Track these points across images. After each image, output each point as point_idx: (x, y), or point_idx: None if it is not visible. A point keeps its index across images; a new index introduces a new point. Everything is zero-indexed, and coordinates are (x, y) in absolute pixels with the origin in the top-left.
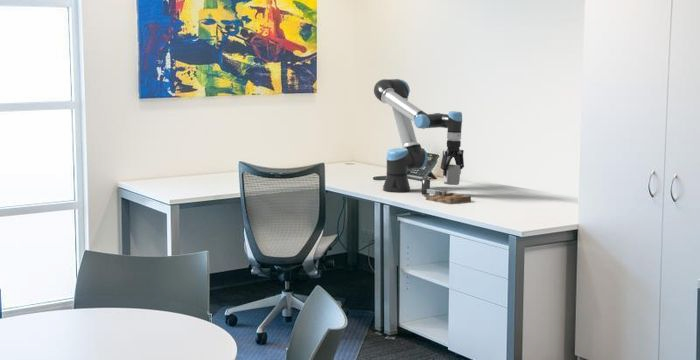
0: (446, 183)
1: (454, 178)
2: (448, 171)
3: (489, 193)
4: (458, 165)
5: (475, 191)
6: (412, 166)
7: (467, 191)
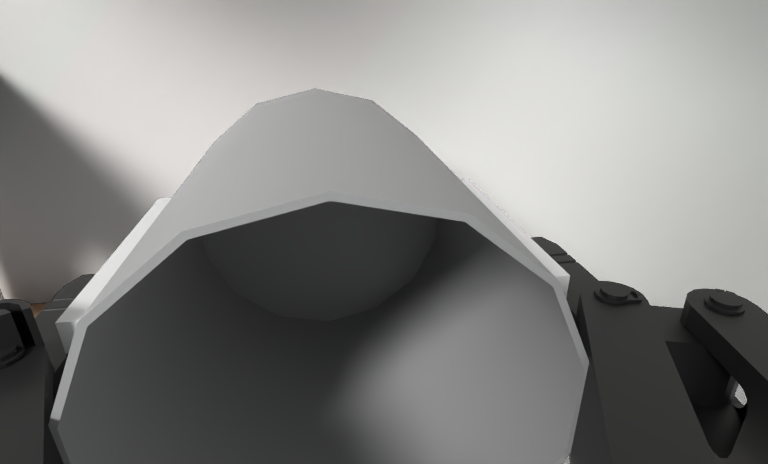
0: (200, 236)
1: (279, 372)
2: (152, 399)
3: (690, 288)
4: (565, 435)
5: (709, 129)
6: None
7: (648, 83)
